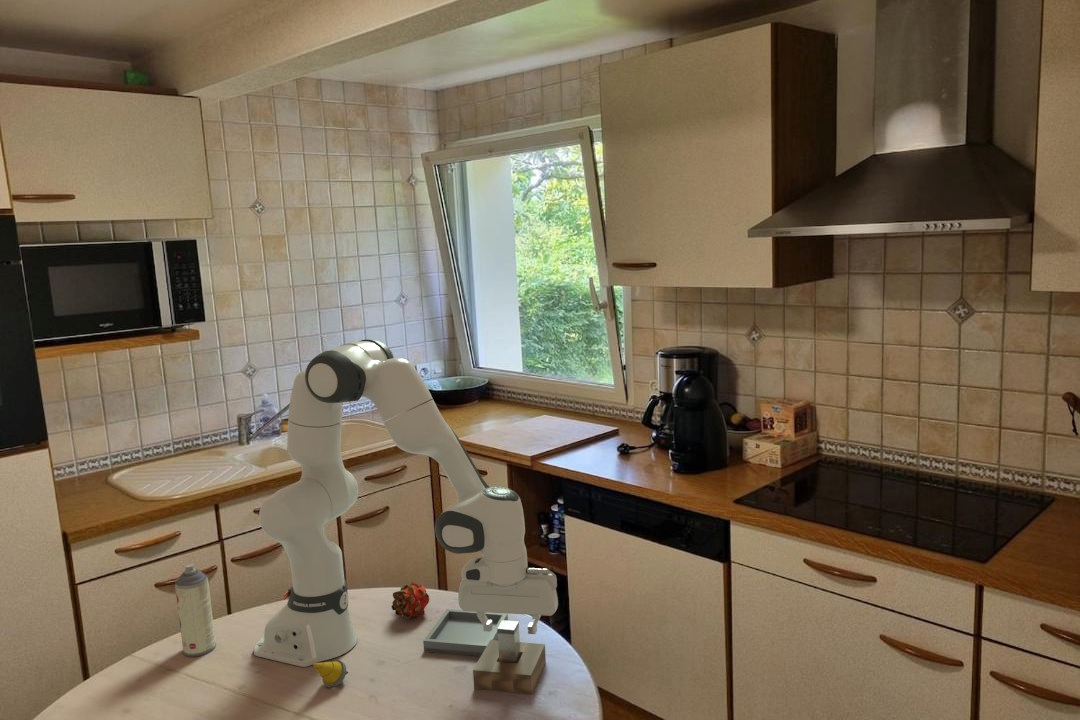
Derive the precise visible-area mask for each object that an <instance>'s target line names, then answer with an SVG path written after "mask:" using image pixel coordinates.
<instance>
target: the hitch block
mask: <svg viewBox="0 0 1080 720" xmlns="http://www.w3.org/2000/svg"><path fill="white" fill-rule="evenodd" d="M520 657H521V658H520V660H519V662H518V664H517V663H505V662H499V647H498V640H490V642H489V643H488V645H487V647H486V648H485V650H484V652H483V654H482V655H481V656H479V659H478V661H477V662H476V664H475V666H474V667H473V669H472V676H473V677H472V679H473V689H476V690H477V689H478V690H487V691H497V692H507V693H517V694H528V695H533V693H534V690H535V688H536V686H537V684H538V681H539V679H540V677H541V674H542V671H543V670H544V667H545V664H546V663H547V661H546V660H547V659H546V644H545V643H536V642H535V643H534V642H532V643H531V642H522V641H520Z"/></svg>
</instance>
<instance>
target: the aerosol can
mask: <svg viewBox="0 0 1080 720" xmlns="http://www.w3.org/2000/svg"><path fill="white" fill-rule="evenodd" d="M184 568H185V570H184V571H183V572H182V573H181V574H180V576H179V577H178V578H176V580H175V581H174V582H175V584H174V587H175V597H176V604H177V613H178V619H179V628H180V635H181V636H180V637H181V644H182V645H181V646H182V653H183V656H185V657H187V658H195V657H196V658H197V657H201V656H205V655H207V654H209V653H211V652H213V651H214V650H215V649H216V647H217V644H216V637H215V635H216V634H215V626H214V617H213V611H212V610H213V609H212V602H211V601H212V600H211V593H210V592H211V591H210V585H209V578H208V575H207V574H206V573H205V572H202V571H201V570H198V569H197V568H195V565H194V563H190V564H186V565H185V567H184Z"/></svg>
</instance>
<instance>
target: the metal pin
mask: <svg viewBox="0 0 1080 720" xmlns="http://www.w3.org/2000/svg"><path fill="white" fill-rule="evenodd" d="M519 623H520V622H519V621H517V620H515V621H513V620H508V621H504V620H502V622H501V623H500V625H499V627H498V629H497V630H498V647H499V662H505V663H517V664H518V662H519V660H520V658H521V657H520V642H521V641H520V640H521V639H520V624H519Z"/></svg>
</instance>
